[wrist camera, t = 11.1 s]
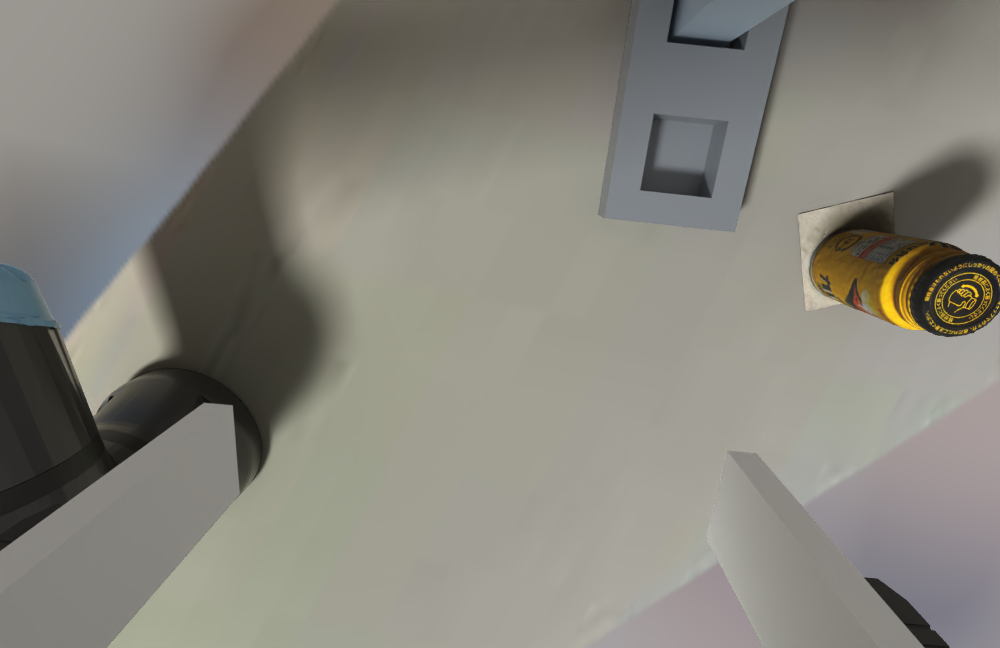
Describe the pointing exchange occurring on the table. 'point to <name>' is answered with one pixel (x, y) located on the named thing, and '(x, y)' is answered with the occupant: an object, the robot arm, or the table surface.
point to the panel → (686, 122)
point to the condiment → (894, 271)
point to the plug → (717, 19)
